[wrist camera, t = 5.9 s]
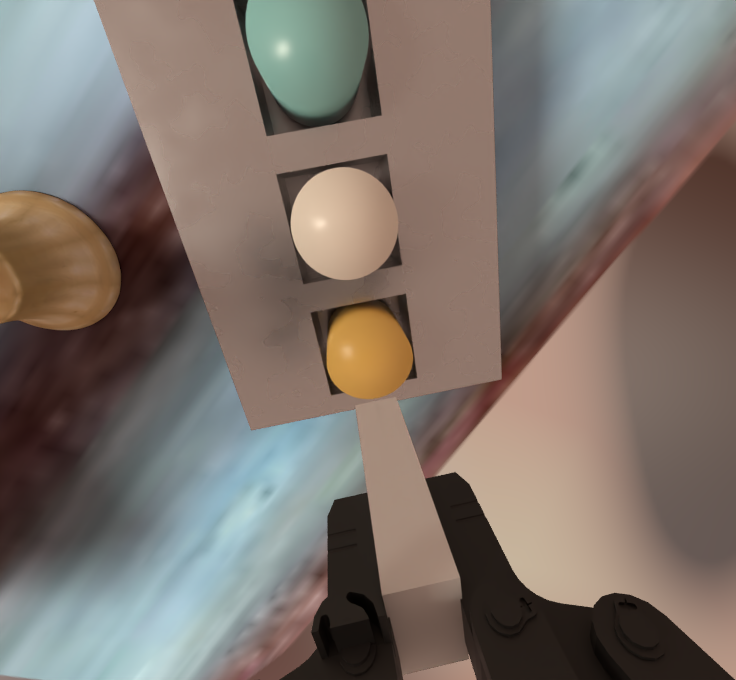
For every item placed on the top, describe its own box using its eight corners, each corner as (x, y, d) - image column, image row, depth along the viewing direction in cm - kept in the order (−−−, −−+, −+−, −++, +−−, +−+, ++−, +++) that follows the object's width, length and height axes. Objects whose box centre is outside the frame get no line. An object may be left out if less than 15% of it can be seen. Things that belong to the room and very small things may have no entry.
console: (263, 393, 26) (251, 430, 22) (139, 19, 18) (80, -37, 13) (474, 350, 26) (501, 379, 22) (451, -35, 18) (487, -105, 14)
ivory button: (310, 270, 20) (305, 289, 16) (289, 183, 18) (278, 178, 14) (389, 255, 20) (404, 269, 16) (376, 167, 18) (390, 157, 14)
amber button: (335, 370, 24) (336, 406, 19) (320, 305, 22) (317, 330, 18) (402, 356, 24) (417, 389, 20) (392, 291, 22) (407, 312, 18)
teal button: (280, 134, 18) (265, 115, 14) (254, 23, 17) (228, -36, 12) (366, 118, 18) (377, 94, 14) (350, 7, 17) (356, -57, 13)
